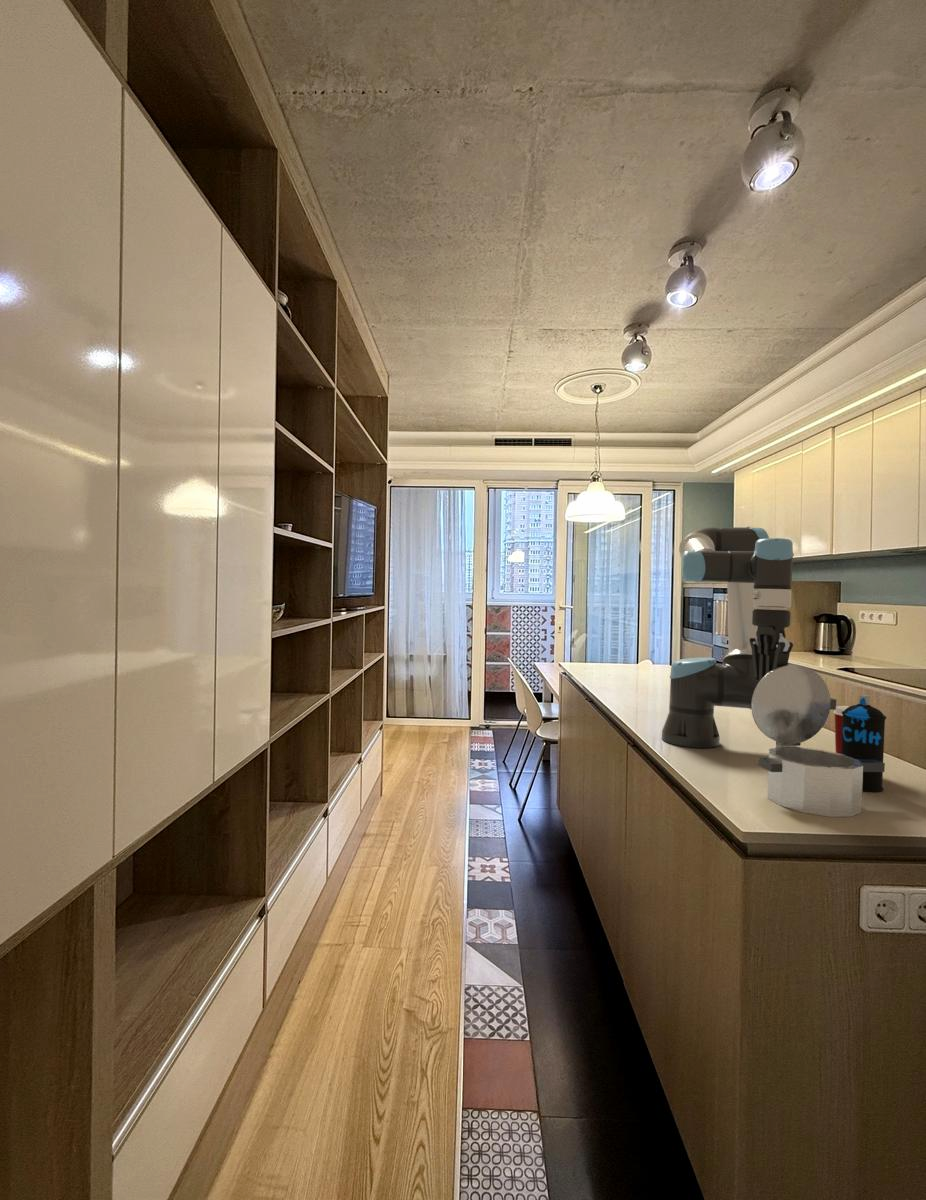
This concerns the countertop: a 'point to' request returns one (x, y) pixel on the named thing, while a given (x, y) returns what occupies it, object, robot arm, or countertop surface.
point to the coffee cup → (839, 727)
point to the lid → (791, 704)
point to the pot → (817, 780)
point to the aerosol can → (864, 738)
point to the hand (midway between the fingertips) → (767, 715)
